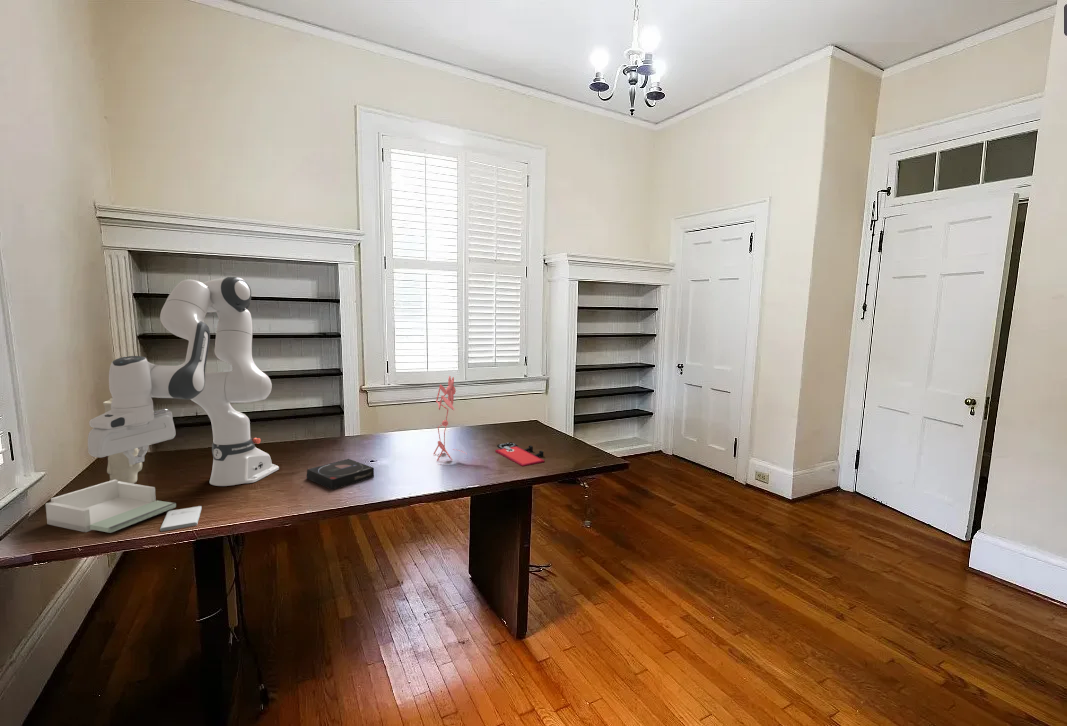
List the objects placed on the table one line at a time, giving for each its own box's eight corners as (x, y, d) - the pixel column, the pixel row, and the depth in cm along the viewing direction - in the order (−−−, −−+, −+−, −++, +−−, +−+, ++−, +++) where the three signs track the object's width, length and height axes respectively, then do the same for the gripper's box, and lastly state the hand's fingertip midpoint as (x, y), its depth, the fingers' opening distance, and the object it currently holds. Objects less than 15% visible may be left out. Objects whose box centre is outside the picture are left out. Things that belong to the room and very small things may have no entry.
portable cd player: (347, 468, 180) (347, 458, 180) (373, 478, 170) (373, 467, 170) (306, 479, 167) (306, 469, 166) (332, 491, 157) (332, 479, 156)
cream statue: (116, 480, 159) (110, 396, 156) (146, 477, 163) (141, 395, 160) (103, 489, 152) (97, 400, 148) (136, 486, 155) (130, 399, 152)
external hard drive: (160, 533, 125) (167, 515, 135) (197, 527, 129) (201, 510, 140) (159, 528, 125) (167, 510, 135) (196, 521, 129) (201, 505, 139)
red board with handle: (514, 443, 220) (487, 448, 212) (514, 437, 220) (487, 442, 211) (551, 462, 195) (522, 468, 187) (551, 455, 195) (522, 461, 187)
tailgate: (156, 500, 139) (175, 503, 137) (157, 504, 140) (176, 507, 138) (89, 524, 123) (109, 528, 121) (90, 529, 123) (110, 532, 121)
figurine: (438, 467, 182) (441, 380, 179) (428, 449, 206) (430, 372, 203) (475, 464, 188) (479, 380, 185) (462, 447, 212) (464, 372, 208)
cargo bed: (120, 499, 144) (119, 478, 143) (156, 506, 140) (154, 484, 140) (47, 524, 127) (45, 500, 126) (85, 532, 123) (83, 507, 122)
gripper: (163, 406, 138) (166, 450, 139) (81, 422, 118) (85, 473, 120) (179, 408, 136) (182, 453, 138) (98, 424, 116) (103, 476, 118)
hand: (136, 463), depth 128 cm, fingers closed
